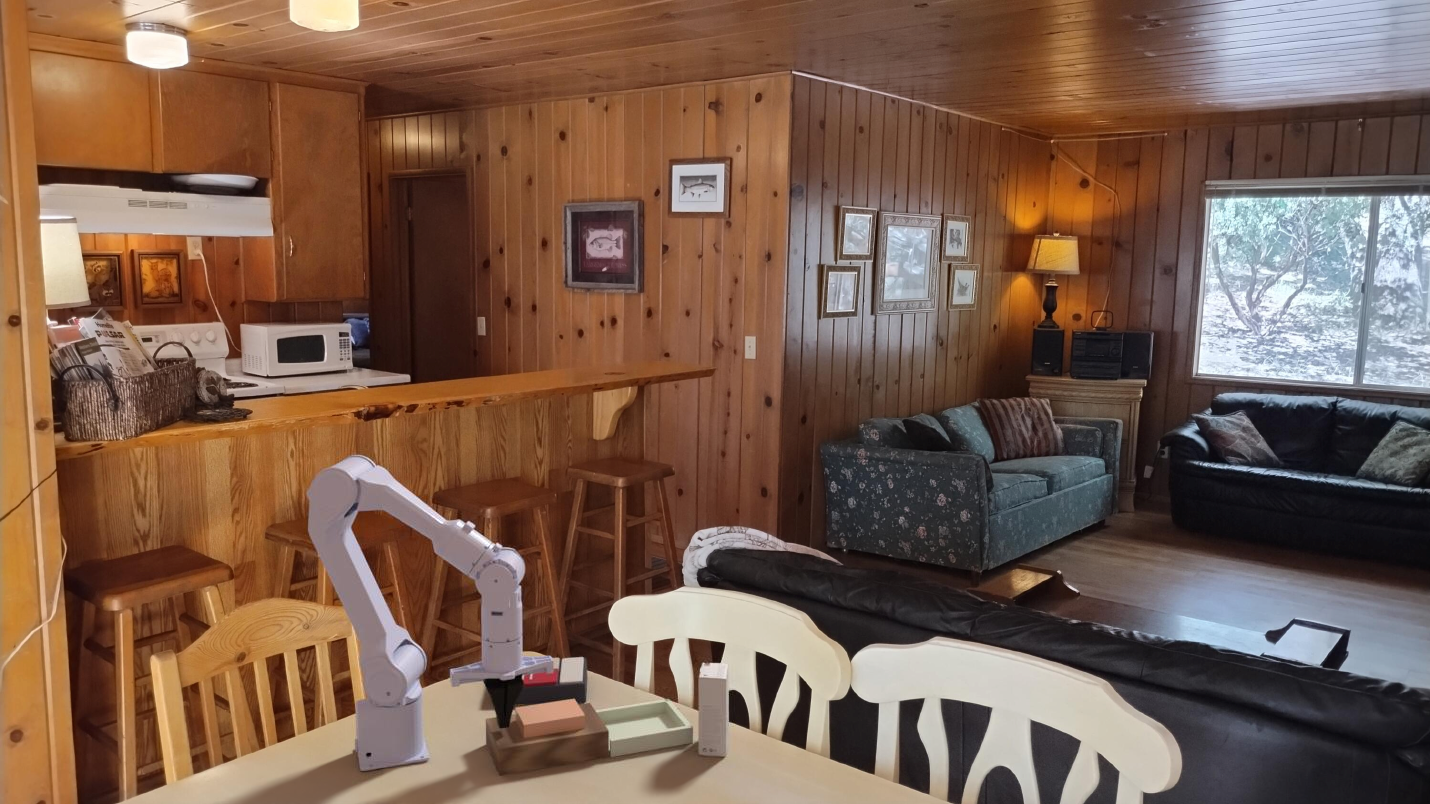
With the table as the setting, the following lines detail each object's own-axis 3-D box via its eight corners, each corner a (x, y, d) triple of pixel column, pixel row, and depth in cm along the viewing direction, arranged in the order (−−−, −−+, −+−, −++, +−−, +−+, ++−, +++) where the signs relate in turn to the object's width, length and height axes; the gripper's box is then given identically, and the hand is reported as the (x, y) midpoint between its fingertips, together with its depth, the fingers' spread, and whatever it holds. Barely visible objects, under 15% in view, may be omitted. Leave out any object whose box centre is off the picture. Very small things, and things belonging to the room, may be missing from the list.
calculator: (498, 659, 180) (586, 653, 182) (500, 682, 181) (587, 676, 182) (491, 685, 170) (584, 679, 171) (493, 710, 170) (586, 704, 172)
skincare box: (727, 757, 154) (728, 679, 152) (696, 755, 155) (698, 677, 153) (729, 737, 160) (731, 662, 159) (700, 736, 161) (701, 661, 159)
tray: (611, 756, 154) (611, 740, 153) (591, 725, 163) (591, 710, 163) (692, 742, 159) (693, 727, 158) (668, 713, 168) (668, 698, 168)
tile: (524, 737, 151) (523, 724, 150) (515, 720, 156) (515, 707, 156) (585, 728, 154) (585, 715, 154) (574, 711, 159) (574, 698, 159)
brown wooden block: (499, 775, 148) (498, 748, 147) (486, 744, 157) (485, 718, 156) (608, 756, 154) (608, 730, 153) (589, 727, 163) (589, 702, 162)
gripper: (454, 652, 144) (456, 745, 146) (558, 638, 149) (559, 728, 151) (447, 634, 150) (448, 723, 152) (547, 622, 156) (547, 708, 158)
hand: (503, 724), depth 152 cm, fingers closed
